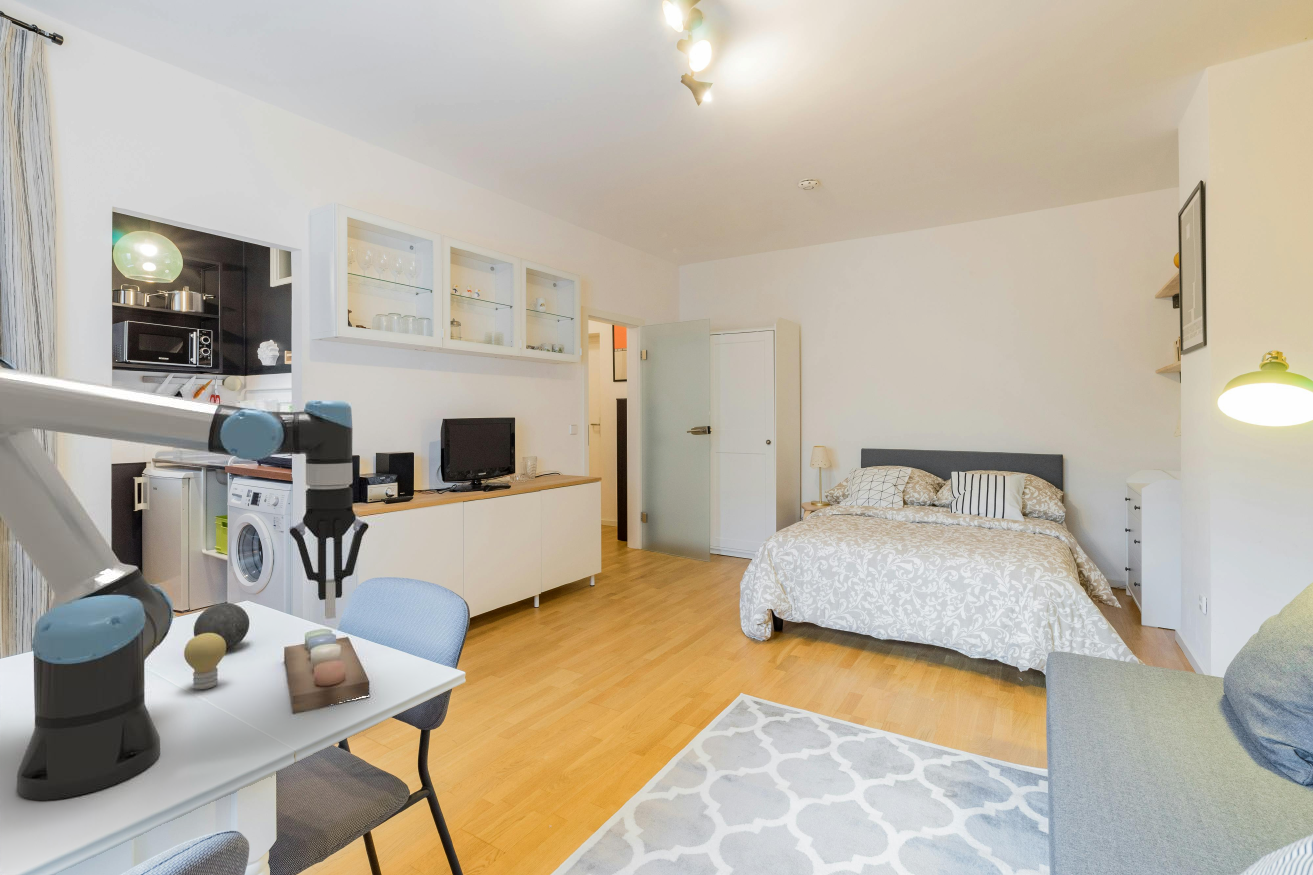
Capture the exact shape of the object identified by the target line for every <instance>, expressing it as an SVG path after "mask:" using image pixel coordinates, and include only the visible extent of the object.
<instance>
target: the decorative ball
mask: <svg viewBox="0 0 1313 875" xmlns="http://www.w3.org/2000/svg"><path fill="white" fill-rule="evenodd" d="M249 629H250V618H249V615H248V613H247V611H246V610H245V609H244V608H242V606H240V605H238V604H234V603H231V602H230V603H229V602H223V603H222V602H221V603H218V604H214V605H210V606H209V607H208V608H206V609H205V610H204V611H203V612H202V613H200V614H199V616H198V617H197V619H196V621H195V623H194V625H193V638H194V637H195V636H198V635H200V634H204V633H215V634H218V635H220V636H221V637H222V638H223V639H224V640H225V643H226V651H227V650H230V649H232V648H233V647H235V646H237V645H239V643H242V641H243V640H244V638H246V635H248V634H247V633H248V632H249Z"/></svg>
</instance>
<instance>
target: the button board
mask: <svg viewBox="0 0 1313 875" xmlns="http://www.w3.org/2000/svg"><path fill="white" fill-rule="evenodd" d="M336 644H338V645H340V646H341V660H340V661H343V662H345V680H343V681H342V682H340V683H337V684H334V685H328V686H319V685H316V684H314V666H311V655H309V654H308V649H306V648H305V643H302V644H300V643H299V644H296V645H295V644H294V645H288V646H284V650H283V651H284V652H283V654H284V656H283V660H284V661H283V663H284V668H285V669H284V670H285V674H286V680H287V685H288V686H287V687H288V690H289V691H288V692H289V697H290V698H289V699H290V704H291V709H292V710H291V711H292V714H298V713H301V711H303V712H307V711H306V710H308V711H311V709H313V710H316V709H315V708H317V709H321V708H320V707H322V708H326V707H325V706H327V707H330V706H329V705H331V704H336V705H338V704H337V703H339V702H344V701H347V700H352V699H356V698H359V697H362V696H368V695H369V696H370V679H369V677H368V675H367V673H366V670H365V669H364V667H363V665H362V663H361V660H360V659H359V657H358V654H357V652H356V651H355V648H354V647H353V644H352V642H351V640H350V638H349V636H345V637H339V638H336ZM297 712H298V713H297Z"/></svg>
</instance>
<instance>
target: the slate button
mask: <svg viewBox="0 0 1313 875" xmlns="http://www.w3.org/2000/svg"><path fill="white" fill-rule="evenodd" d="M336 639H337V635H336V634H335V633H332V634H319V635H315V636H312V637H310V638H308V654H309V655H311V649H312V648H314V647H316V646H319V645H324V644H336Z"/></svg>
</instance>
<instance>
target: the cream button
mask: <svg viewBox="0 0 1313 875" xmlns="http://www.w3.org/2000/svg"><path fill="white" fill-rule="evenodd" d="M340 660H341V646H340V645H338V644H324V645H319V646H316V647H314V648H312V649H311V666H314V667H315V666H316V665H318V664H320V663H323V662H328V661H340Z"/></svg>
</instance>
